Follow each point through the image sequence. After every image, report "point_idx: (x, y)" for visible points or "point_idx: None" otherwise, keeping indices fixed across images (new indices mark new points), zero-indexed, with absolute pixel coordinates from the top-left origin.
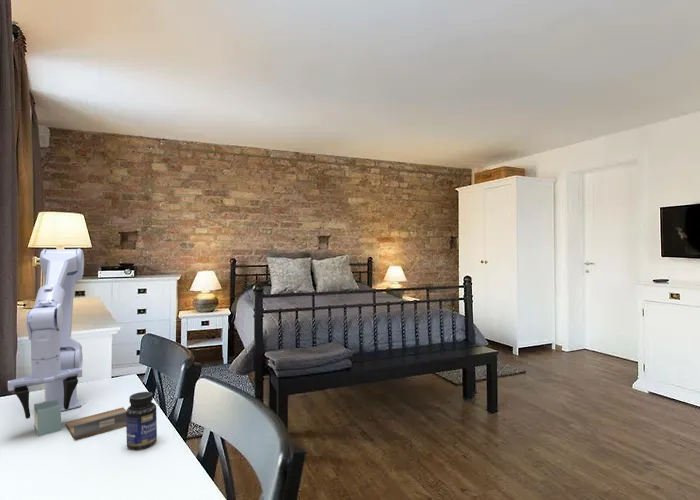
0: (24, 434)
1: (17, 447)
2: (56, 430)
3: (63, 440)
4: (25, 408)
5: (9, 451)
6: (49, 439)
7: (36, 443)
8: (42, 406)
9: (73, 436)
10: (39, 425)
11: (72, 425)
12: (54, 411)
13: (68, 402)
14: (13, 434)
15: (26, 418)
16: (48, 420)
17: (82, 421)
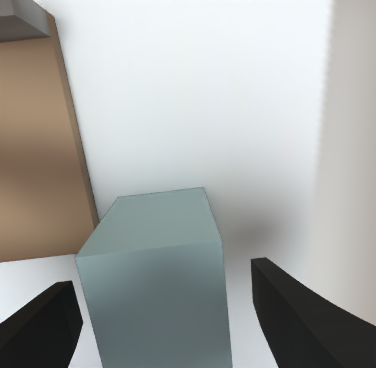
0: (248, 243)
1: (280, 116)
2: (135, 196)
3: (106, 61)
4: (303, 290)
5: (309, 90)
6: (163, 120)
7: (212, 109)
8: (190, 319)
9: (59, 57)
10: (202, 203)
11: (67, 188)
12: (123, 238)
13: (29, 305)
14: (282, 268)
15: (267, 259)
16: (161, 214)
17: (25, 211)
